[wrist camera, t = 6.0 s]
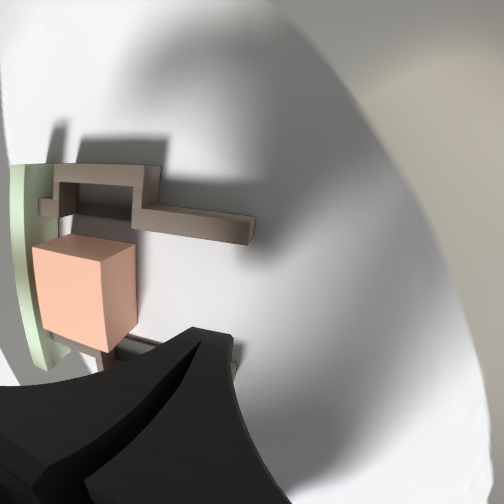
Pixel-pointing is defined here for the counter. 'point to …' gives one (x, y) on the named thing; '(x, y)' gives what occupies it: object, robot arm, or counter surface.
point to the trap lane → (102, 205)
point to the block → (87, 289)
